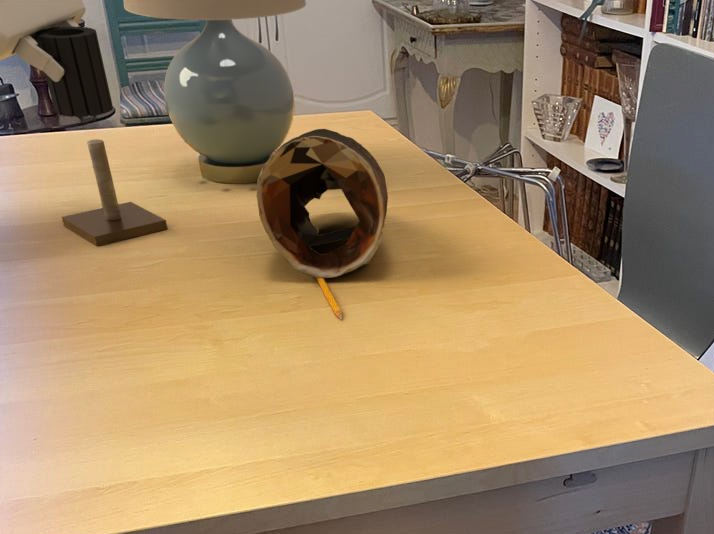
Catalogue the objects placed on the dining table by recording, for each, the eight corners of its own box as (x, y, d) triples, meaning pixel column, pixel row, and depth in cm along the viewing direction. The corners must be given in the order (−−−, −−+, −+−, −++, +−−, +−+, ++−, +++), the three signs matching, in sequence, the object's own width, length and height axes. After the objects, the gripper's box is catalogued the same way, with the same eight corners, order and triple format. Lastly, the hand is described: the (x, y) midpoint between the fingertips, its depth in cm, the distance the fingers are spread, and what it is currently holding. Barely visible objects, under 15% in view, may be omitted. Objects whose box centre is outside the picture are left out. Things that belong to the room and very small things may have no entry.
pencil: (321, 278, 113) (321, 272, 113) (345, 322, 104) (345, 316, 104) (315, 278, 113) (314, 272, 113) (338, 323, 104) (337, 317, 103)
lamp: (331, 191, 138) (301, -154, 112) (157, 202, 133) (84, -155, 107) (312, 146, 155) (282, -161, 130) (158, 154, 151) (95, -163, 125)
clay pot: (380, 115, 125) (374, 123, 103) (399, 238, 132) (397, 269, 111) (269, 131, 125) (241, 142, 103) (296, 253, 133) (274, 287, 111)
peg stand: (97, 246, 120) (74, 157, 113) (63, 226, 125) (40, 139, 118) (168, 229, 125) (150, 142, 118) (132, 210, 130) (114, 126, 123)
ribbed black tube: (69, 120, 110) (49, 40, 104) (46, 108, 113) (25, 30, 108) (122, 111, 113) (105, 33, 107) (97, 100, 116) (80, 24, 111)
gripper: (-71, -49, 95) (49, 67, 101) (28, -71, 110) (128, 30, 116) (-94, 2, 98) (23, 111, 104) (5, -27, 113) (102, 70, 119)
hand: (79, 68), depth 110 cm, fingers closed on ribbed black tube, 7 cm apart
